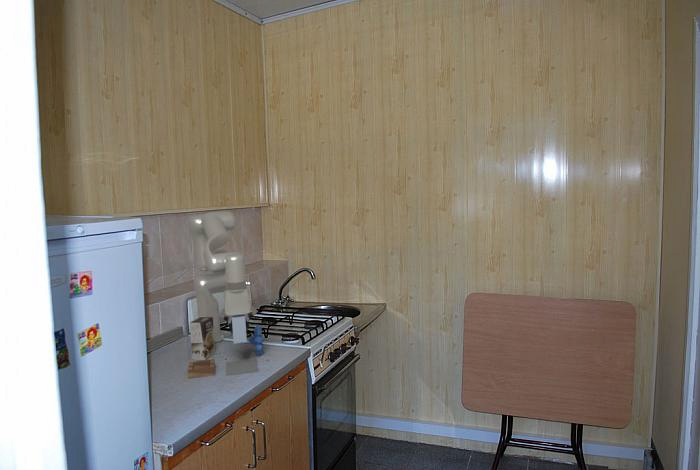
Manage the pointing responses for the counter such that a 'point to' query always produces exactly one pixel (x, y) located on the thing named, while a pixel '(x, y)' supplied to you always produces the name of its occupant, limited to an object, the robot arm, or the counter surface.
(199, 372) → the pocket holder
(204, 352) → the coffee box
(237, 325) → the block
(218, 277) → the robot arm
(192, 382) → the counter surface
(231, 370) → the mat
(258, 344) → the grapes
